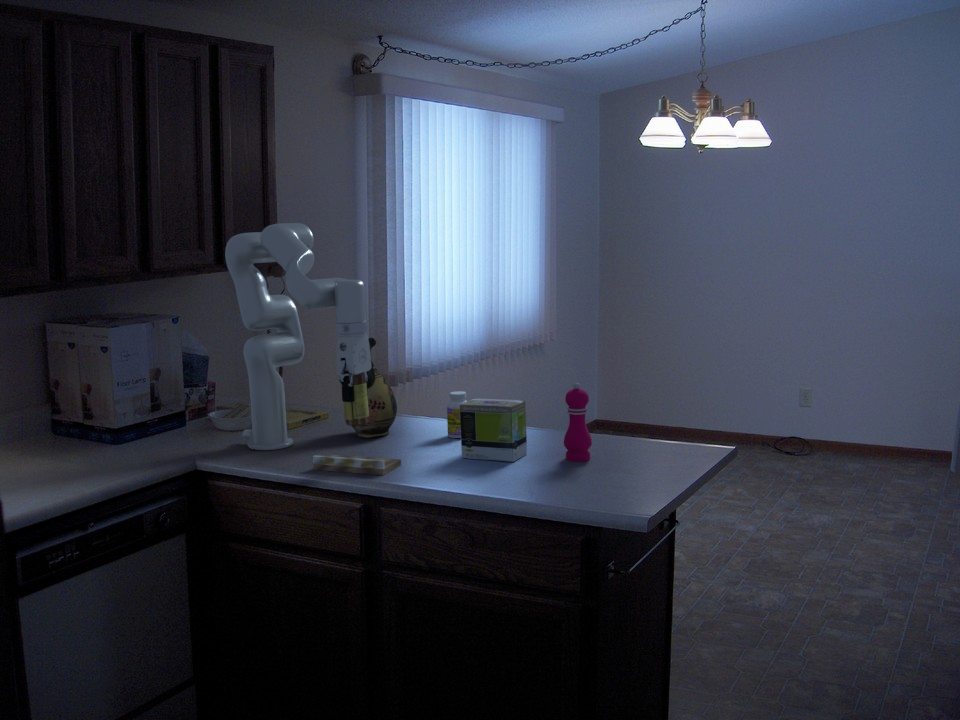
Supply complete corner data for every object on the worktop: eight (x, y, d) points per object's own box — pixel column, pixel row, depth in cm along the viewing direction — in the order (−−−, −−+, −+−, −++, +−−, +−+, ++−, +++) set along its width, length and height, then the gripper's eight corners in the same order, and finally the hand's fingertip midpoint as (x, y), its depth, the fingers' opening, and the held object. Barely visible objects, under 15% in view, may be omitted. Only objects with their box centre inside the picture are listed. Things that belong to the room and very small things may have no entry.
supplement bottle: (443, 437, 288) (441, 393, 286) (457, 433, 293) (455, 389, 291) (461, 440, 284) (459, 395, 282) (475, 435, 289) (474, 391, 287)
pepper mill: (560, 461, 257) (559, 384, 254) (568, 454, 264) (566, 379, 261) (588, 463, 255) (587, 385, 252) (594, 456, 261) (593, 380, 258)
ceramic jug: (352, 428, 303) (347, 330, 299) (402, 429, 301) (398, 329, 296) (337, 442, 286) (331, 338, 282) (390, 442, 284) (385, 337, 280)
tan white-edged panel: (313, 469, 256) (312, 456, 256) (333, 460, 266) (332, 447, 265) (383, 475, 249) (382, 461, 248) (401, 465, 258) (400, 451, 258)
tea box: (527, 454, 266) (526, 399, 264) (513, 463, 257) (511, 406, 255) (476, 450, 272) (474, 396, 270) (460, 458, 263) (458, 403, 261)
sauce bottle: (372, 421, 258) (368, 345, 256) (365, 426, 252) (361, 348, 249) (348, 421, 260) (344, 345, 257) (340, 426, 254) (336, 348, 251)
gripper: (347, 333, 243) (351, 406, 246) (380, 325, 259) (383, 393, 262) (320, 333, 246) (325, 405, 249) (355, 324, 262) (358, 392, 264)
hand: (355, 398), depth 255 cm, fingers closed on sauce bottle, 6 cm apart
